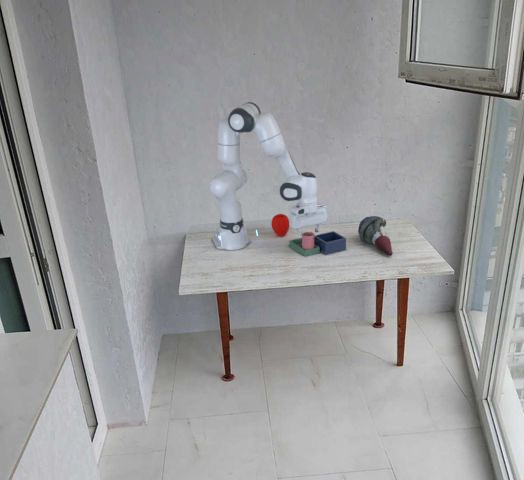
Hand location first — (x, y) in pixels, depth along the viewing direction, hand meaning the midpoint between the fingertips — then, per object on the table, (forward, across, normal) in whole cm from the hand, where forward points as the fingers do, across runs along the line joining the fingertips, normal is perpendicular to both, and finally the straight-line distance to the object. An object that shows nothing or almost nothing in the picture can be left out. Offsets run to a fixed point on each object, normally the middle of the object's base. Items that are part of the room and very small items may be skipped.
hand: (308, 233), depth 282 cm
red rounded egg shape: (+10, +2, -28) cm, 30 cm away
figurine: (+10, -36, +13) cm, 40 cm away
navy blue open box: (+10, -11, +2) cm, 15 cm away
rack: (+10, 0, -4) cm, 11 cm away
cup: (+10, 0, 0) cm, 10 cm away
